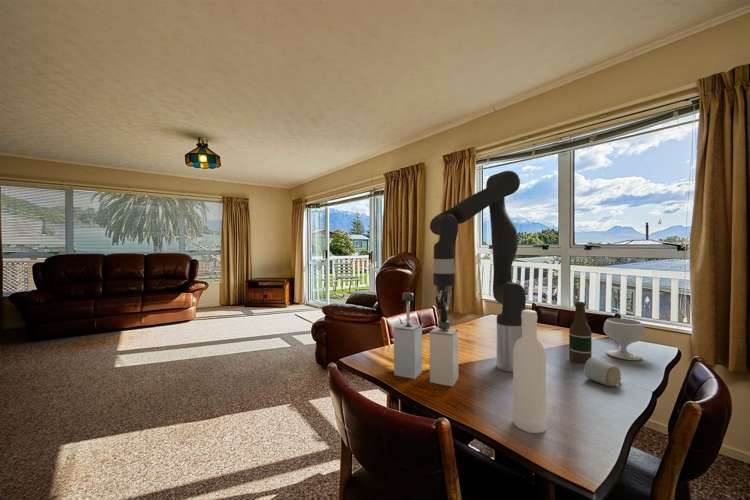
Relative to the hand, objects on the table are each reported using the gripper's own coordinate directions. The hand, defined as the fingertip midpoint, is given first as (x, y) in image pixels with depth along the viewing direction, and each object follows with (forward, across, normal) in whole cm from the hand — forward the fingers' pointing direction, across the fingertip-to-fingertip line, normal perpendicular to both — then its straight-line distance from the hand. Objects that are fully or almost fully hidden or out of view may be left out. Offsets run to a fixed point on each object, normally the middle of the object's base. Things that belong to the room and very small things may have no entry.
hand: (444, 320), depth 112 cm
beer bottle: (+21, +43, -44) cm, 65 cm away
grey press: (+21, 0, +14) cm, 25 cm away
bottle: (+21, -18, -28) cm, 39 cm away
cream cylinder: (+21, +23, -50) cm, 59 cm away
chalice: (+21, +58, -62) cm, 87 cm away
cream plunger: (+15, 0, 0) cm, 15 cm away
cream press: (+21, 0, 0) cm, 21 cm away
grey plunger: (+6, 0, +13) cm, 15 cm away
